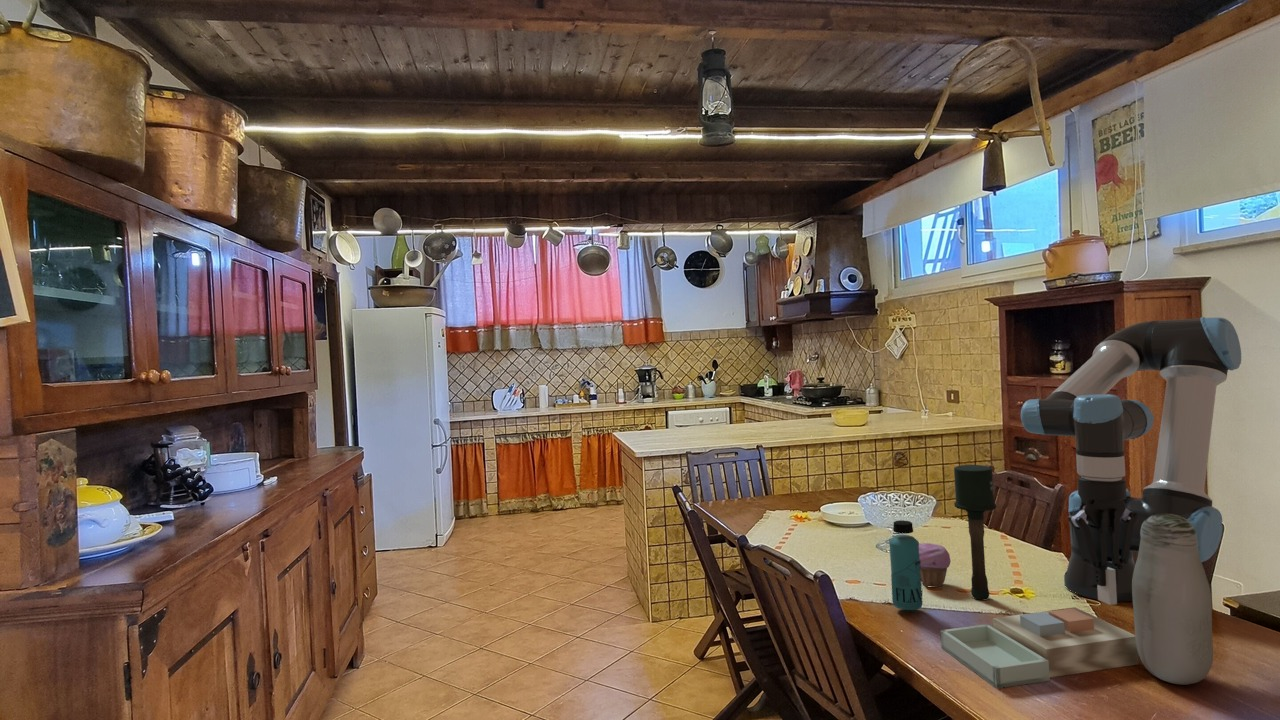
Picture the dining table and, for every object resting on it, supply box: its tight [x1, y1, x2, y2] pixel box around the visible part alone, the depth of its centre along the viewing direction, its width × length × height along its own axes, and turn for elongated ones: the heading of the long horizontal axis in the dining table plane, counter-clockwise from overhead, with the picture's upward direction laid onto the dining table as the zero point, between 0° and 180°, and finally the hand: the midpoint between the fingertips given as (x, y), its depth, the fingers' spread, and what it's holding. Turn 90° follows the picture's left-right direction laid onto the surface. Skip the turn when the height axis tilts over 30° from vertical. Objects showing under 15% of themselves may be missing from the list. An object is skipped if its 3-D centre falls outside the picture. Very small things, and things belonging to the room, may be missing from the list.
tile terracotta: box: [1048, 607, 1094, 633], centre depth 124 cm, size 5×5×2 cm
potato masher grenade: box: [953, 464, 997, 600], centre depth 152 cm, size 8×9×30 cm
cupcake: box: [919, 542, 952, 587], centre depth 162 cm, size 9×9×10 cm
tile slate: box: [1019, 611, 1065, 637], centre depth 123 cm, size 5×5×2 cm
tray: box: [940, 623, 1051, 689], centre depth 122 cm, size 10×16×4 cm, turn 8°
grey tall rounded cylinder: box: [1132, 514, 1214, 686], centre depth 112 cm, size 10×10×28 cm
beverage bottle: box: [888, 520, 924, 611], centre depth 147 cm, size 6×7×20 cm
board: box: [992, 606, 1140, 678], centre depth 124 cm, size 18×14×5 cm
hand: (1107, 601), depth 125 cm, fingers closed
